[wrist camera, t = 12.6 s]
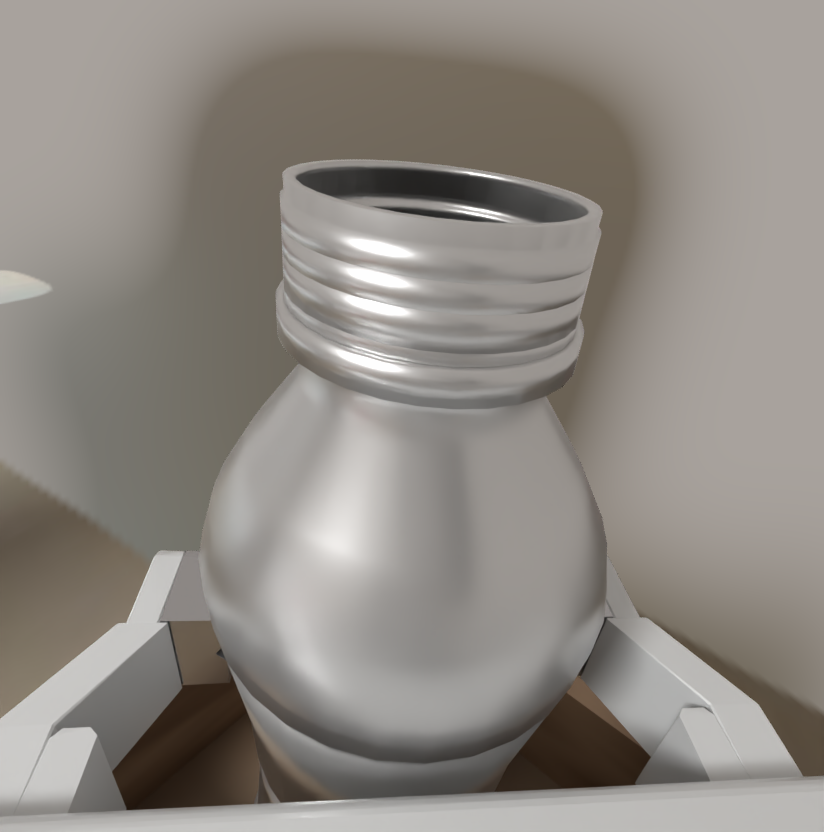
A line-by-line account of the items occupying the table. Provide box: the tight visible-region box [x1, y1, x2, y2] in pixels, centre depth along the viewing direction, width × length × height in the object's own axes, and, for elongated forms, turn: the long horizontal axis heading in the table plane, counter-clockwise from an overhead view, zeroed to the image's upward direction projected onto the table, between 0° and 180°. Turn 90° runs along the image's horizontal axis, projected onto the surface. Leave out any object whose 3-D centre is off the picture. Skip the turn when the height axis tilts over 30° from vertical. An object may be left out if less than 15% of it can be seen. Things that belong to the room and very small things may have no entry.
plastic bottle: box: [199, 160, 607, 804], centre depth 12 cm, size 6×7×20 cm
